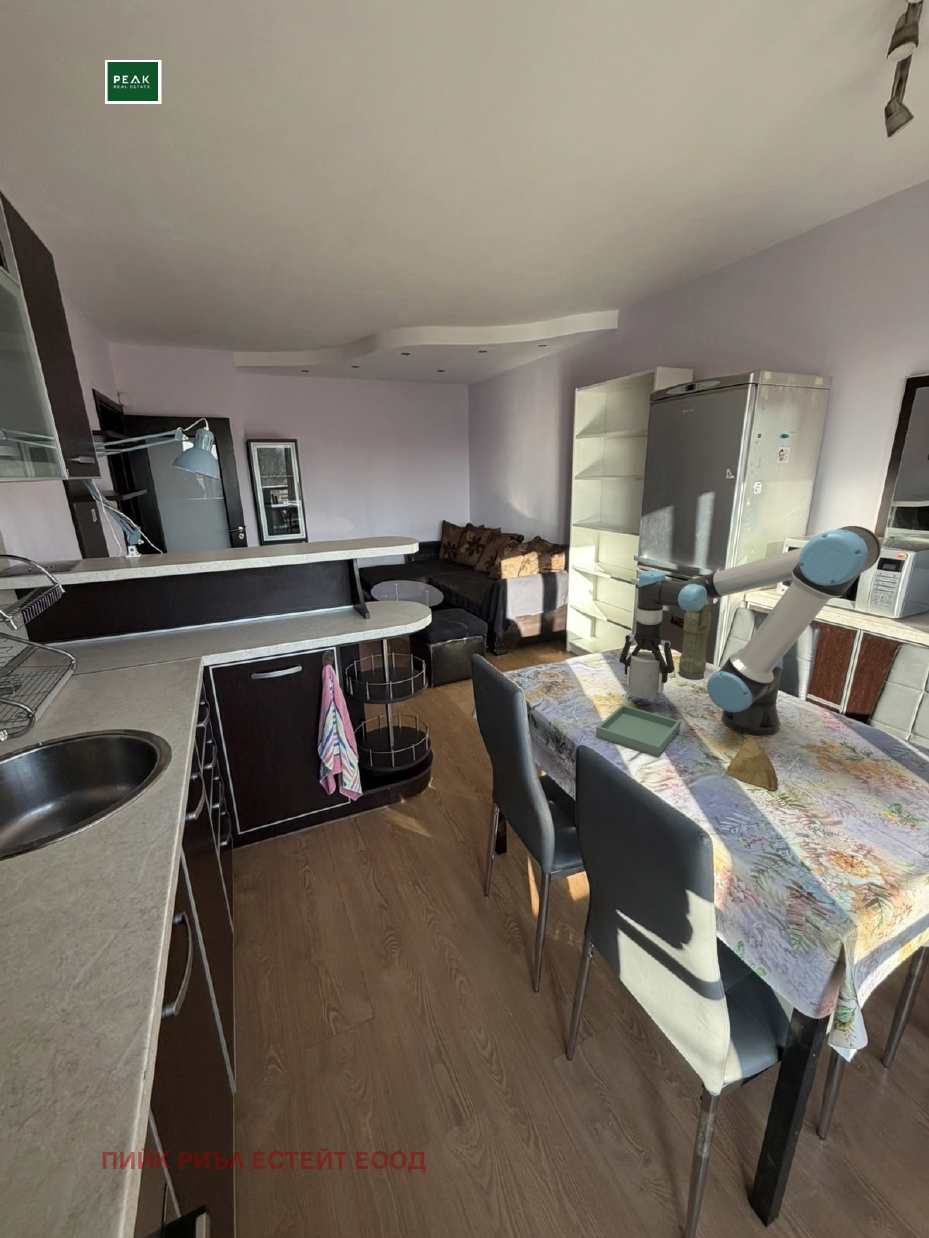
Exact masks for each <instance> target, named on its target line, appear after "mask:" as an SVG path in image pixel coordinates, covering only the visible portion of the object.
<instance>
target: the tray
mask: <svg viewBox="0 0 929 1238" xmlns="http://www.w3.org/2000/svg"><path fill="white" fill-rule="evenodd" d="M680 731H681V720H678V719H677V720H676V719H673V718H670V717H666V716H663V715H660V714H656V713H653V712H650V711H646V710H642V709H639V708H635V707H631V706H628V705H624V704H621V705H620V706H619V707H618V708H617V709H615V710H614V711H613V712H612V713H611V714H610V715H608V717H606V718H604V720H603V721H602V722H600V723H599V724H598V725H597V726H596V731H595V737H596V738H598V739H602V740H604V741H607V742H610V743H613V744H615V745H619V746H621V747H624V748H628V749H630V750H634V751H637V752H640V753H642V754H645V755H648V756H651V757H655V758H657V759H658V758H659V757H660V756H661V754H663V752H664V751H665V750H666V748H668V746H669V743H670V744H671V742H672V741H673V740H674V738H675V737H677V735H678V734H679V733H678V732H680Z"/></svg>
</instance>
